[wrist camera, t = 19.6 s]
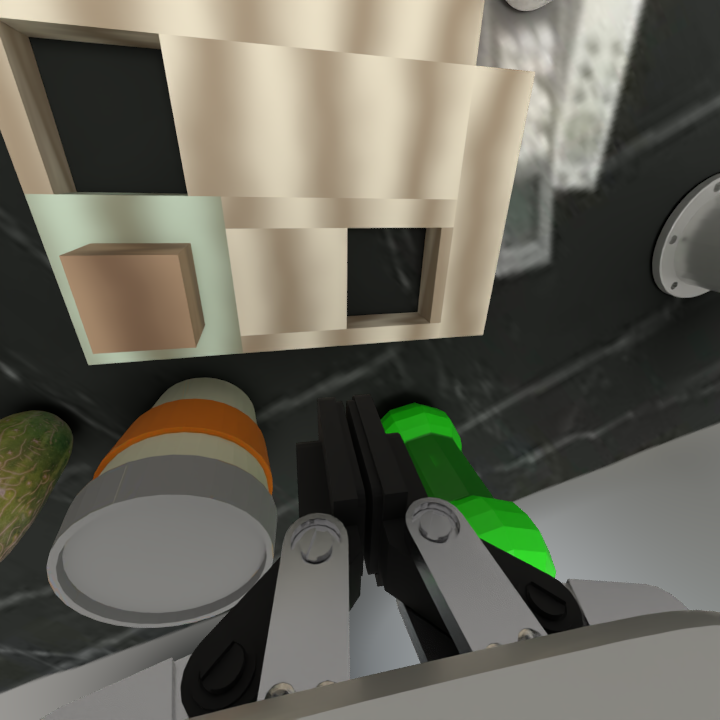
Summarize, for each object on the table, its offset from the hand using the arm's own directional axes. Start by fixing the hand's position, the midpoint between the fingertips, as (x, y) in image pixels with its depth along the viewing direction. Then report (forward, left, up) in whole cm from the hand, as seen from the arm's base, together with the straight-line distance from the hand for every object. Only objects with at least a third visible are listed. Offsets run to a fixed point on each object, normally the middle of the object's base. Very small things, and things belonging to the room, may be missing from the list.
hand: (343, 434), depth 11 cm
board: (-1, -6, -21) cm, 22 cm away
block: (+10, 0, -18) cm, 21 cm away
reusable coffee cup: (+9, +14, -21) cm, 27 cm away
